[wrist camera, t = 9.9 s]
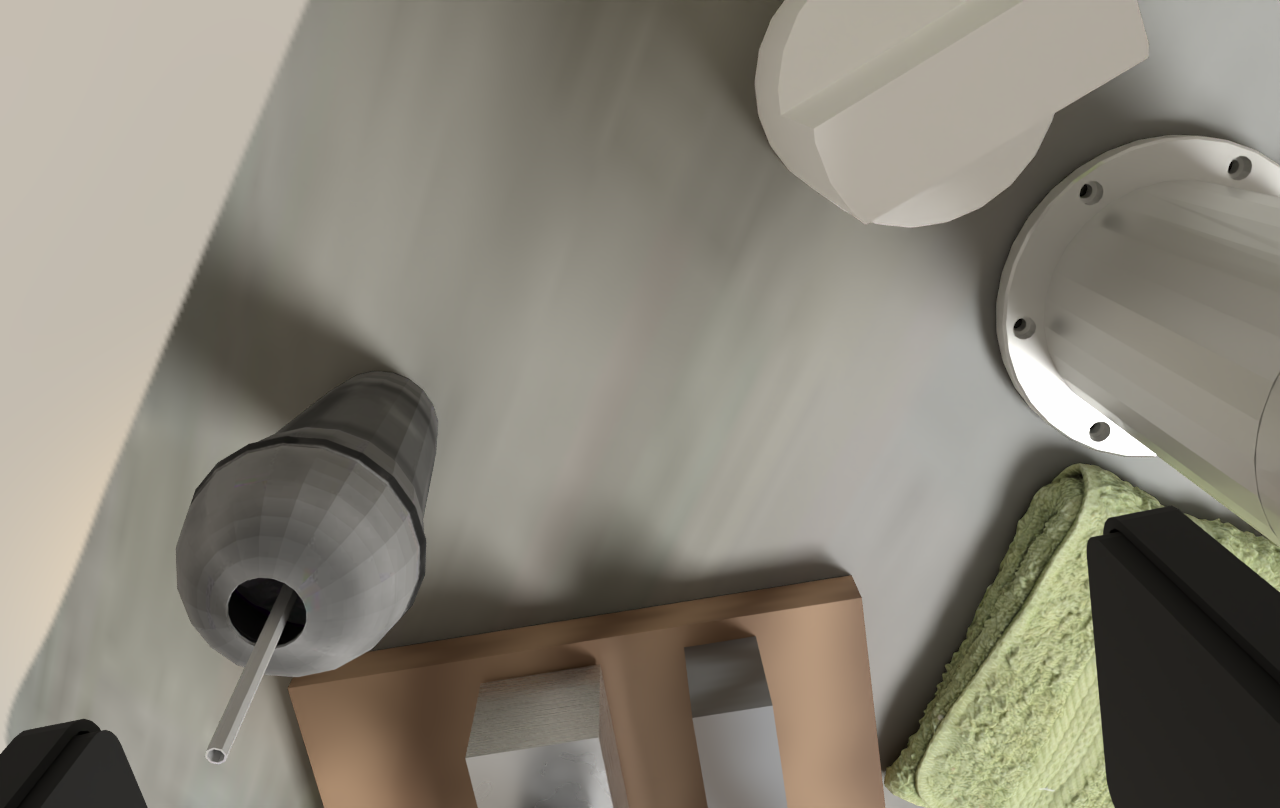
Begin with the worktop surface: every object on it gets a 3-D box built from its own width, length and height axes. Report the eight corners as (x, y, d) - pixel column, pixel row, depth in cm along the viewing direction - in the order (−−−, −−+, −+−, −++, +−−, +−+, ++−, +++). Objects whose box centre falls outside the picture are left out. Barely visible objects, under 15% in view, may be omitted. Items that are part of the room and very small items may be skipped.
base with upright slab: (826, 247, 42) (905, 321, 31) (709, 36, 40) (748, 33, 28) (1037, 122, 41) (1202, 150, 29) (930, -104, 38) (1065, -167, 27)
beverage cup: (462, 331, 43) (341, 557, 24) (482, 501, 45) (386, 833, 26) (276, 343, 43) (7, 579, 24) (306, 513, 45) (81, 854, 26)
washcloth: (865, 776, 50) (881, 824, 47) (1048, 440, 45) (1080, 469, 42) (1112, 859, 52) (1143, 910, 49) (1314, 545, 47) (1363, 579, 44)
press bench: (851, 575, 46) (891, 663, 40) (882, 842, 51) (922, 961, 44) (300, 662, 47) (249, 763, 40) (377, 918, 51) (342, 1048, 45)
